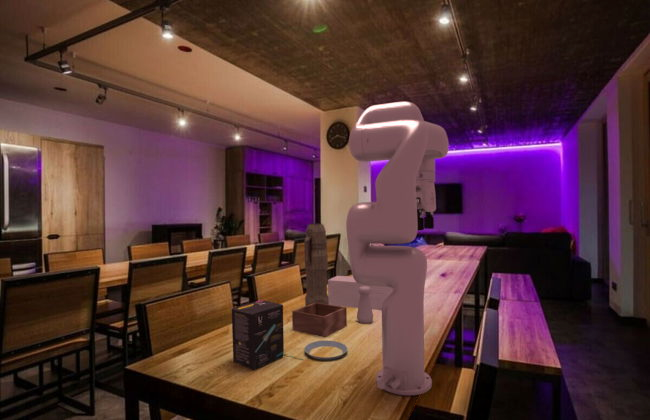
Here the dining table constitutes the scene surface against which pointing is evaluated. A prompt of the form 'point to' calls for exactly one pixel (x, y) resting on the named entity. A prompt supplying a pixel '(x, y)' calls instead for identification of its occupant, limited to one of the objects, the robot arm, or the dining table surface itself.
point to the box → (319, 319)
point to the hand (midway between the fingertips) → (424, 229)
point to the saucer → (325, 343)
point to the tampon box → (257, 333)
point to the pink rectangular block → (354, 293)
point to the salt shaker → (364, 306)
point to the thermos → (316, 264)
